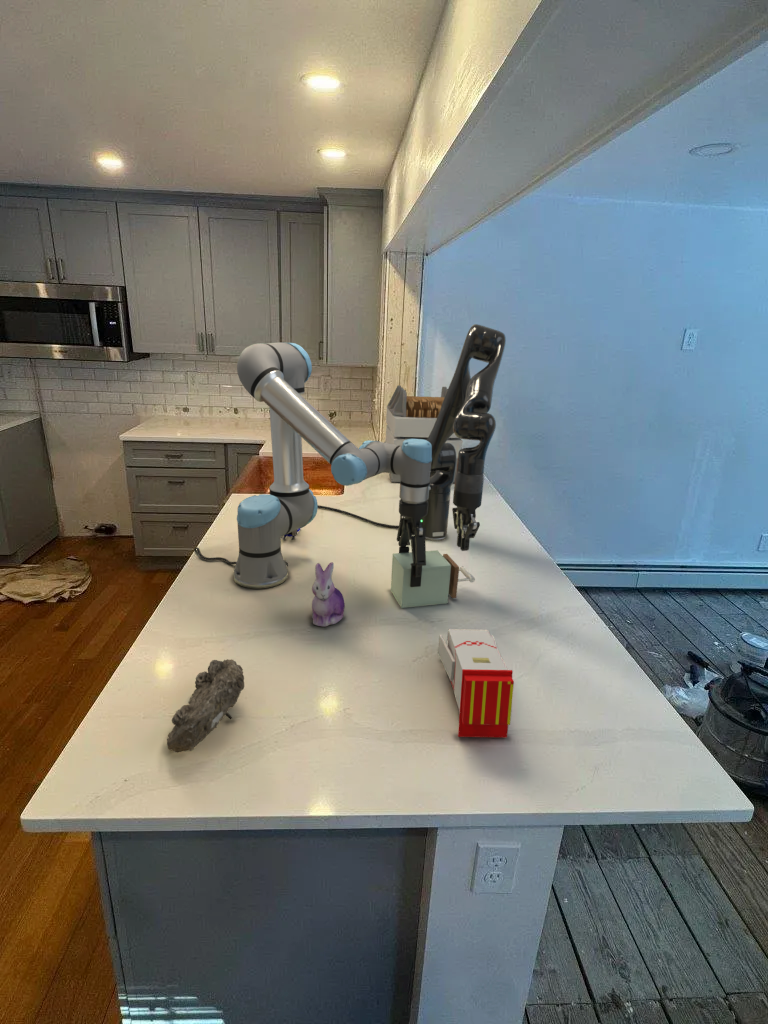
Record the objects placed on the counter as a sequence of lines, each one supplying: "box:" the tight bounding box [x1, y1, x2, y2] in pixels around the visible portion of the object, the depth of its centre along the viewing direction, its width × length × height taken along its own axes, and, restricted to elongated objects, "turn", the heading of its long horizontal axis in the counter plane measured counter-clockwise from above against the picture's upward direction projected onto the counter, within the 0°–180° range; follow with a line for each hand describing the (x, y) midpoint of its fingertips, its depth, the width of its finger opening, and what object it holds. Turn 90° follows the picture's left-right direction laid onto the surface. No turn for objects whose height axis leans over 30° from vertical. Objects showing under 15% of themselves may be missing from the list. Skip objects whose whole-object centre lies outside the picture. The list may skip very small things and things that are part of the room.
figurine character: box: [282, 528, 302, 541], centre depth 194 cm, size 7×8×15 cm
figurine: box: [311, 561, 346, 627], centre depth 141 cm, size 9×10×15 cm
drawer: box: [442, 553, 476, 599], centre depth 157 cm, size 17×9×9 cm, turn 106°
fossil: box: [166, 658, 245, 754], centre depth 106 cm, size 22×10×15 cm
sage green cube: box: [390, 549, 451, 609], centre depth 155 cm, size 13×10×11 cm
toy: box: [437, 628, 515, 738], centre depth 117 cm, size 12×13×30 cm
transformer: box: [383, 384, 464, 484], centre depth 268 cm, size 34×33×41 cm
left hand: (408, 577), depth 154 cm, fingers closed on sage green cube, 10 cm apart
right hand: (462, 548), depth 155 cm, fingers closed
